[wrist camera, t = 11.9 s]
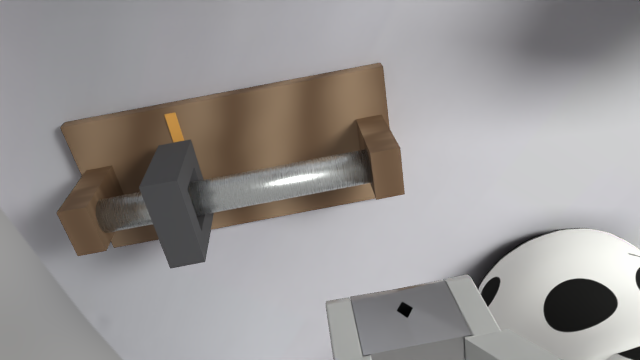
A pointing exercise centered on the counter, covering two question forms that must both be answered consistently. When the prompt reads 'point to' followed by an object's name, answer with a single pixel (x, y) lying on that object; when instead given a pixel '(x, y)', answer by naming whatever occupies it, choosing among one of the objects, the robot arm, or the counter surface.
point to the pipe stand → (237, 155)
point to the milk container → (570, 294)
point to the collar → (176, 204)
